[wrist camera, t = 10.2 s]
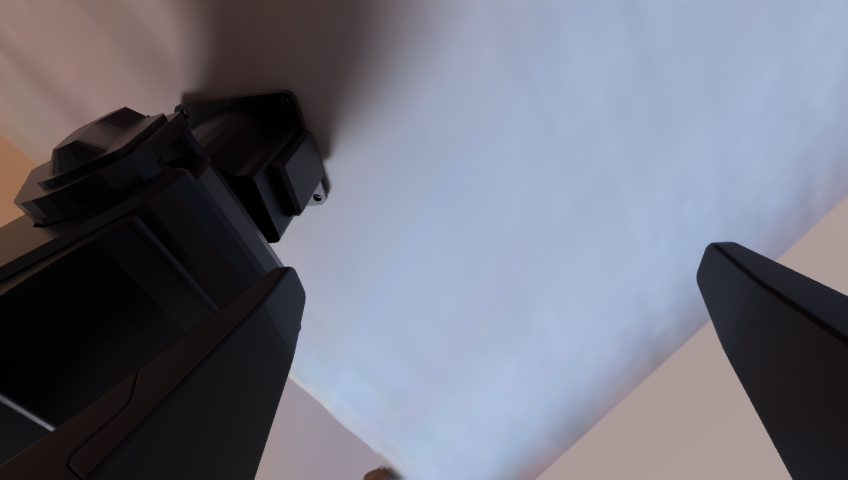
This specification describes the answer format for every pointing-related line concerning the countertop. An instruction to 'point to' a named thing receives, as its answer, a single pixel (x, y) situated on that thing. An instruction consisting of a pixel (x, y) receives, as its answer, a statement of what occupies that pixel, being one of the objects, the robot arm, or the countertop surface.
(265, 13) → the countertop surface
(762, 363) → the robot arm
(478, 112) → the countertop surface
